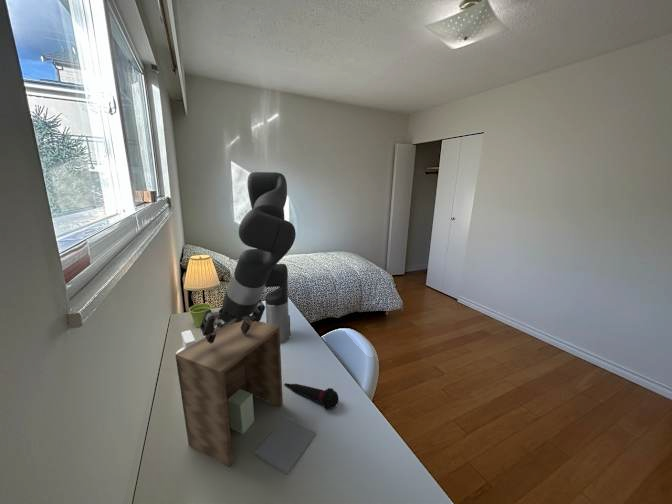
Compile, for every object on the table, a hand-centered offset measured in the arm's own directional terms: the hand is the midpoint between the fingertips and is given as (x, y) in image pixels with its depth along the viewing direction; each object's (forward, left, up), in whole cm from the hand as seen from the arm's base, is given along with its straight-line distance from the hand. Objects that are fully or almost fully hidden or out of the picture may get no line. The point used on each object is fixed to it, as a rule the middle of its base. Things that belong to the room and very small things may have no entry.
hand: (227, 335), depth 69 cm
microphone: (-19, +12, -28) cm, 36 cm away
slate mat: (-2, +16, -27) cm, 32 cm away
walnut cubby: (-1, +1, -27) cm, 27 cm away
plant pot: (-30, -58, -27) cm, 71 cm away
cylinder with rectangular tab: (-9, -34, -27) cm, 45 cm away
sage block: (-1, +2, -27) cm, 27 cm away
